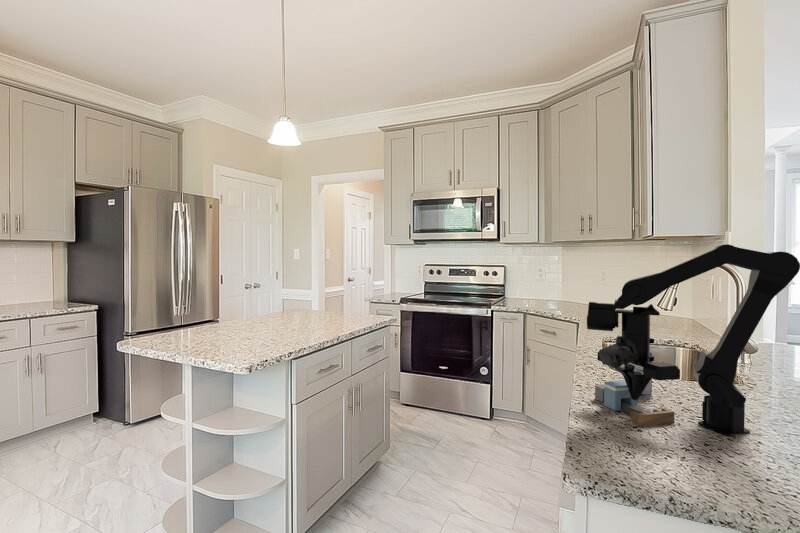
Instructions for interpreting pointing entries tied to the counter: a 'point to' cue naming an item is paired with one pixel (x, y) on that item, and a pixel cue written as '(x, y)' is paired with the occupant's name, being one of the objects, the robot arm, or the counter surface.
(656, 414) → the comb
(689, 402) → the counter surface
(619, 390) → the sleeve
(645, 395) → the energy drink
